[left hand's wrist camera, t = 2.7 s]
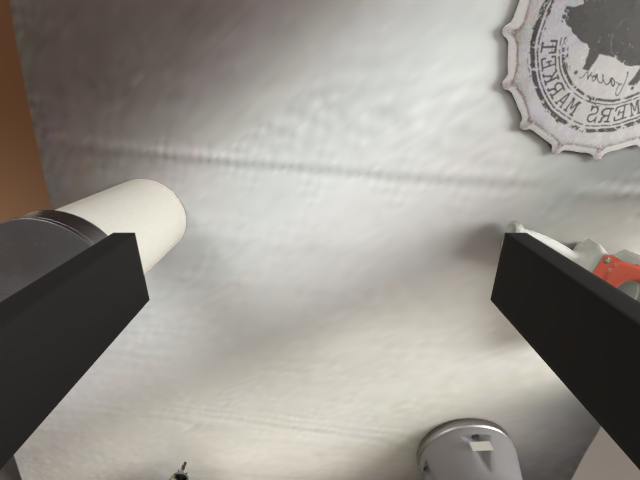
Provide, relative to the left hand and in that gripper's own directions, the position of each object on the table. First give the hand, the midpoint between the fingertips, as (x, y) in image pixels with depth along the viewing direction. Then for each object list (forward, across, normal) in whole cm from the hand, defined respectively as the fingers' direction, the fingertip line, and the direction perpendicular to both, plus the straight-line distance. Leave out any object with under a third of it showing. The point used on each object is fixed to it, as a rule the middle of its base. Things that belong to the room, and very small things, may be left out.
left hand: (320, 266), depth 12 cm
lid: (+12, -21, -7) cm, 25 cm away
